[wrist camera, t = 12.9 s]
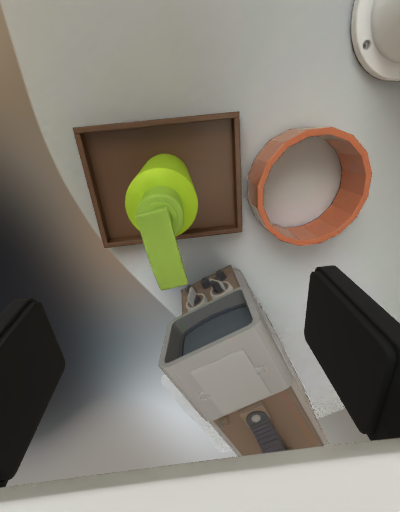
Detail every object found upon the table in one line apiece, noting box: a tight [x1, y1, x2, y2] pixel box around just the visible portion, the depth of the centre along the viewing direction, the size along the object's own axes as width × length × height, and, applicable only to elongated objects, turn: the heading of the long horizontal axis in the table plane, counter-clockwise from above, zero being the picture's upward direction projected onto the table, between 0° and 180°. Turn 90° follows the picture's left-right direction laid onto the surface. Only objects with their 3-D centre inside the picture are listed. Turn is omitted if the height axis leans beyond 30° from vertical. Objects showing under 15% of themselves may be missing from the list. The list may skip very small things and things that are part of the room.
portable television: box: [159, 265, 328, 456], centre depth 31 cm, size 12×24×30 cm, turn 28°
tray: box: [73, 112, 242, 248], centre depth 34 cm, size 14×18×2 cm
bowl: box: [247, 127, 372, 246], centre depth 34 cm, size 13×13×5 cm
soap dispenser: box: [125, 154, 198, 290], centre depth 25 cm, size 6×7×20 cm
